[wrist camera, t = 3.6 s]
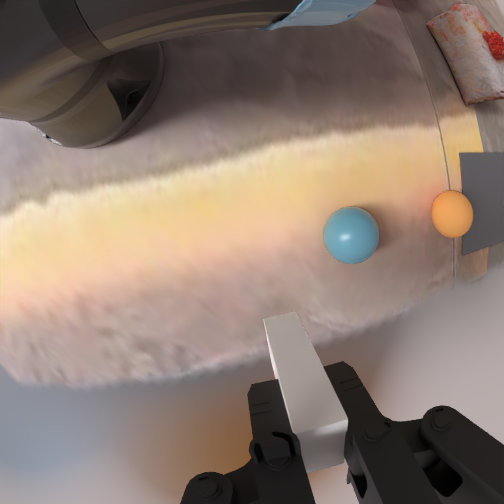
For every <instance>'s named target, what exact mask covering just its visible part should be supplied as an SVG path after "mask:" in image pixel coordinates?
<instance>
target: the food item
mask: <svg viewBox="0 0 504 504" xmlns="http://www.w3.org/2000/svg"><path fill="white" fill-rule="evenodd" d="M426 25H427V27H428V29H429V30H430V32H431V33H432V35H433V37H434V38H435V40H436V41H437V43H438V45H439V46H440V48H441V50H442V53H443V54H444V56H445V58H446V60H447V62H448V64H449V66H450V69H451V71H452V73H453V76H454V78H455V80H456V82H457V84H458V87H459V89H460V92H461V94H462V97H463V100H464V102H465V105H468V104H469V105H470V104H472V103H478V102H481V103H483V102H484V101H488V100H497V99H504V42H503V41H504V40H503V37H501V36H500V35H499V34H498V33H497V32H496V31H494V32H493V30H492V28H491V27H490V25H489V24H488V23H487V22H486V20H485V19H484V17H483V15H482V14H481V12H480V10H479V9H478V8H477V7H475V6H472V5H470V4H467V3H460V2H456V3H454V4H453V5H452V6H451V7H450V8H449V9H448V11H446V12H444V13H441V14H439V15H437V16H435V17H434V18H432V19H431V20H430V21H428V22H427V23H426ZM478 104H479V103H478Z"/></svg>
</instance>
